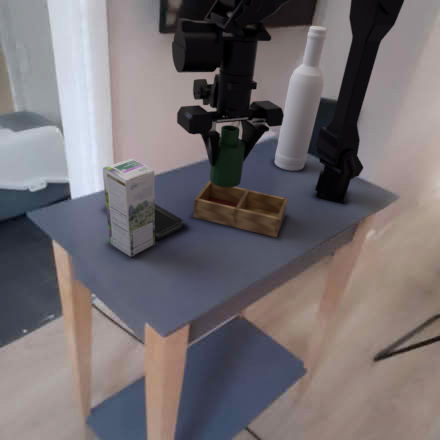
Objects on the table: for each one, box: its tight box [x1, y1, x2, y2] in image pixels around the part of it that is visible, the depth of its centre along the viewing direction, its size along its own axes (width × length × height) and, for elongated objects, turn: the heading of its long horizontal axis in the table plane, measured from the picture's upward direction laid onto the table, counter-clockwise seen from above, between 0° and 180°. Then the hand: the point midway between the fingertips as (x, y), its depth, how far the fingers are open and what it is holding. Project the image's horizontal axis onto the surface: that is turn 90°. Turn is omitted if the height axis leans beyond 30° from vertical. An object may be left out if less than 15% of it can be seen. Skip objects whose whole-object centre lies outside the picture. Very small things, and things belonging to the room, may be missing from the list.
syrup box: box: [102, 158, 156, 258], centre depth 65 cm, size 6×6×14 cm
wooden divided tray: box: [193, 180, 289, 238], centre depth 79 cm, size 17×9×4 cm, turn 73°
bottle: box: [274, 25, 328, 172], centre depth 92 cm, size 8×8×30 cm
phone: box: [155, 203, 184, 241], centre depth 76 cm, size 8×1×15 cm
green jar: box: [209, 124, 245, 188], centre depth 73 cm, size 6×6×10 cm
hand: (227, 163), depth 74 cm, fingers closed on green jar, 6 cm apart
